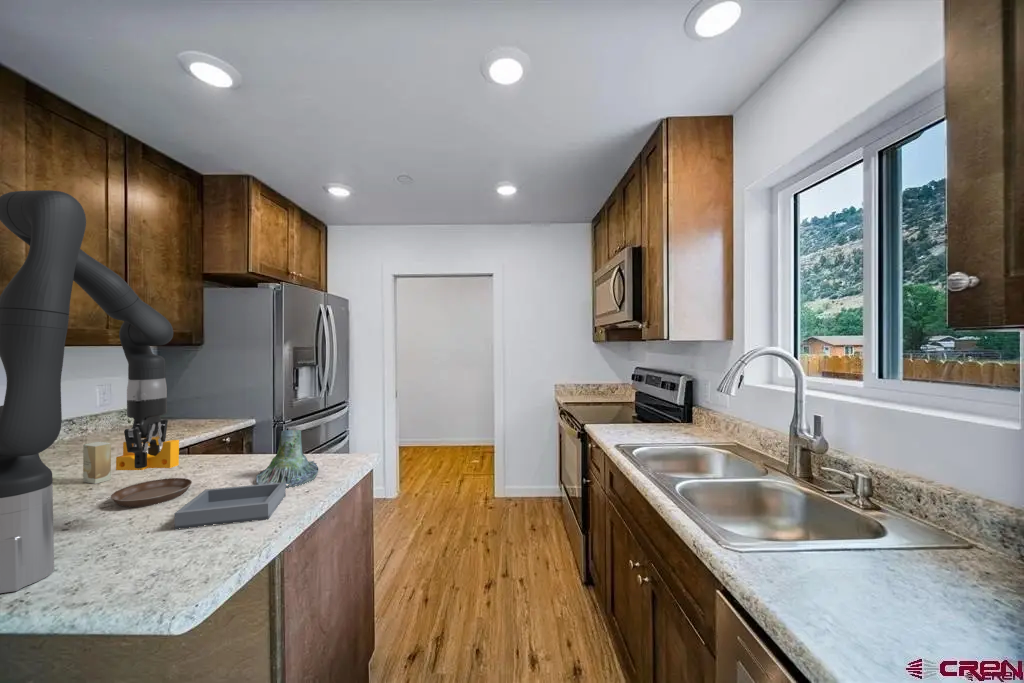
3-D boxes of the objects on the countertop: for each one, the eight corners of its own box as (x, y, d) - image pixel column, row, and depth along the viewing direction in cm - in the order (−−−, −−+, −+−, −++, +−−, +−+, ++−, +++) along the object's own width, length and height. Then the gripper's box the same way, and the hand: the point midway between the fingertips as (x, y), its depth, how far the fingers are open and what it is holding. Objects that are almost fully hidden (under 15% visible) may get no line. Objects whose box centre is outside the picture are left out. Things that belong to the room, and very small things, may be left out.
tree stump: (242, 494, 122) (244, 432, 126) (269, 487, 141) (271, 434, 145) (308, 486, 125) (308, 426, 129) (326, 480, 144) (326, 428, 148)
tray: (268, 519, 103) (268, 503, 103) (174, 529, 98) (174, 513, 98) (285, 495, 119) (285, 482, 119) (205, 503, 113) (205, 489, 113)
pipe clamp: (115, 470, 101) (116, 443, 101) (132, 465, 105) (132, 440, 105) (164, 470, 101) (164, 443, 101) (178, 465, 105) (179, 439, 105)
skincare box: (82, 482, 132) (81, 444, 132) (99, 477, 136) (98, 441, 136) (95, 484, 130) (94, 445, 130) (112, 479, 134) (111, 442, 134)
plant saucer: (207, 487, 127) (206, 478, 126) (151, 512, 109) (151, 500, 109) (155, 486, 128) (155, 476, 128) (92, 510, 111) (91, 499, 111)
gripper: (146, 394, 109) (146, 458, 109) (109, 401, 95) (109, 474, 95) (179, 393, 111) (179, 455, 111) (148, 400, 97) (148, 471, 97)
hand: (147, 464), depth 103 cm, fingers closed on pipe clamp, 5 cm apart
